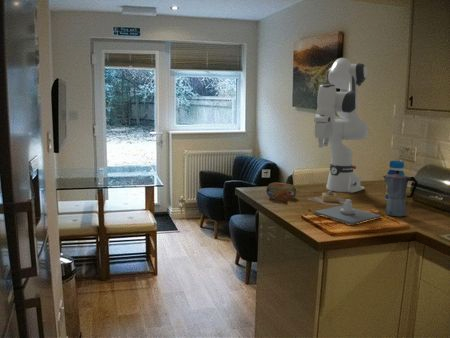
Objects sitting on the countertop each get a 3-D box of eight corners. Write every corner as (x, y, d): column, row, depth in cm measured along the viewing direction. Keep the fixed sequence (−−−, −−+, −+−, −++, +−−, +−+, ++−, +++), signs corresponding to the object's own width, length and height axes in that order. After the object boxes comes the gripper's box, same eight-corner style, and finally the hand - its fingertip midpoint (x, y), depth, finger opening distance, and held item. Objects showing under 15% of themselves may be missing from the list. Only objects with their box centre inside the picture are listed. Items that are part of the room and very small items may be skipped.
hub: (343, 208, 206) (344, 192, 204) (380, 218, 190) (382, 201, 189) (313, 214, 194) (315, 197, 193) (351, 226, 178) (352, 208, 177)
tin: (265, 198, 222) (266, 181, 221) (268, 196, 225) (268, 180, 223) (294, 202, 215) (295, 185, 214) (296, 201, 218) (297, 184, 217)
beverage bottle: (403, 202, 220) (407, 163, 216) (385, 201, 221) (389, 162, 218) (400, 199, 228) (404, 160, 225) (383, 197, 230) (386, 159, 226)
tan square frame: (322, 198, 218) (322, 192, 218) (335, 199, 217) (336, 193, 217) (323, 201, 212) (323, 195, 211) (337, 202, 211) (337, 196, 210)
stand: (327, 197, 226) (328, 186, 225) (353, 204, 213) (354, 192, 212) (305, 201, 216) (306, 189, 215) (331, 209, 204) (332, 196, 203)
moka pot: (383, 209, 205) (387, 167, 202) (417, 216, 196) (422, 171, 192) (375, 213, 198) (379, 169, 195) (411, 220, 189) (415, 174, 185)
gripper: (324, 117, 222) (322, 144, 224) (313, 118, 204) (311, 147, 206) (336, 118, 220) (334, 145, 222) (326, 118, 202) (324, 148, 204)
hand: (323, 146), depth 214 cm, fingers open, 8 cm apart
